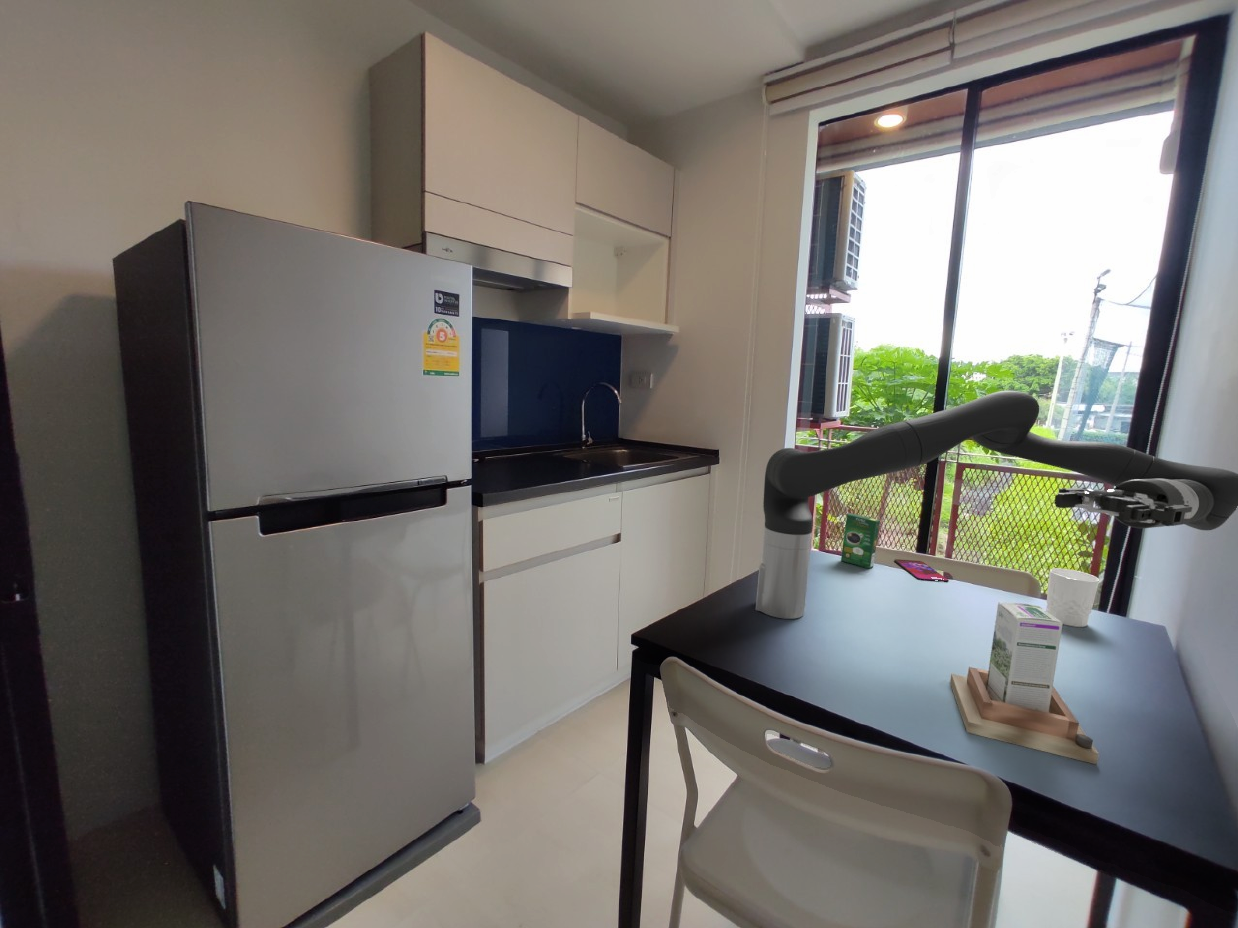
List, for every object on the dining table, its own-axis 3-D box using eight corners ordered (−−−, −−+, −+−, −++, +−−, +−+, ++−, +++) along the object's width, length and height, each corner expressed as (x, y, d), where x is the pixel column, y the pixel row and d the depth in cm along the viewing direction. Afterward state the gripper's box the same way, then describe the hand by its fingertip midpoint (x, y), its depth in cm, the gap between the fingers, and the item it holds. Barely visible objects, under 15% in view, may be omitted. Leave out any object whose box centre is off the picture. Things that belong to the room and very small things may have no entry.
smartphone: (917, 578, 134) (892, 558, 149) (917, 581, 134) (892, 561, 149) (950, 580, 133) (922, 560, 148) (949, 584, 134) (921, 563, 148)
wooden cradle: (967, 732, 73) (971, 704, 73) (949, 682, 86) (953, 658, 86) (1096, 764, 68) (1102, 735, 68) (1058, 705, 81) (1062, 681, 80)
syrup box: (1049, 722, 74) (1067, 621, 72) (1001, 715, 75) (1017, 616, 73) (1026, 699, 80) (1042, 605, 77) (982, 692, 81) (996, 600, 79)
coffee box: (875, 567, 142) (881, 518, 140) (870, 569, 140) (876, 520, 138) (844, 559, 148) (850, 512, 146) (840, 561, 146) (845, 513, 144)
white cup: (1032, 612, 117) (1040, 567, 115) (1066, 612, 118) (1074, 568, 116) (1065, 628, 109) (1074, 581, 108) (1101, 628, 110) (1110, 581, 108)
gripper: (1103, 471, 91) (1042, 473, 85) (1221, 488, 78) (1159, 491, 72) (1095, 515, 92) (1034, 520, 86) (1211, 538, 79) (1148, 546, 73)
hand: (1091, 507), depth 79 cm, fingers open, 8 cm apart
